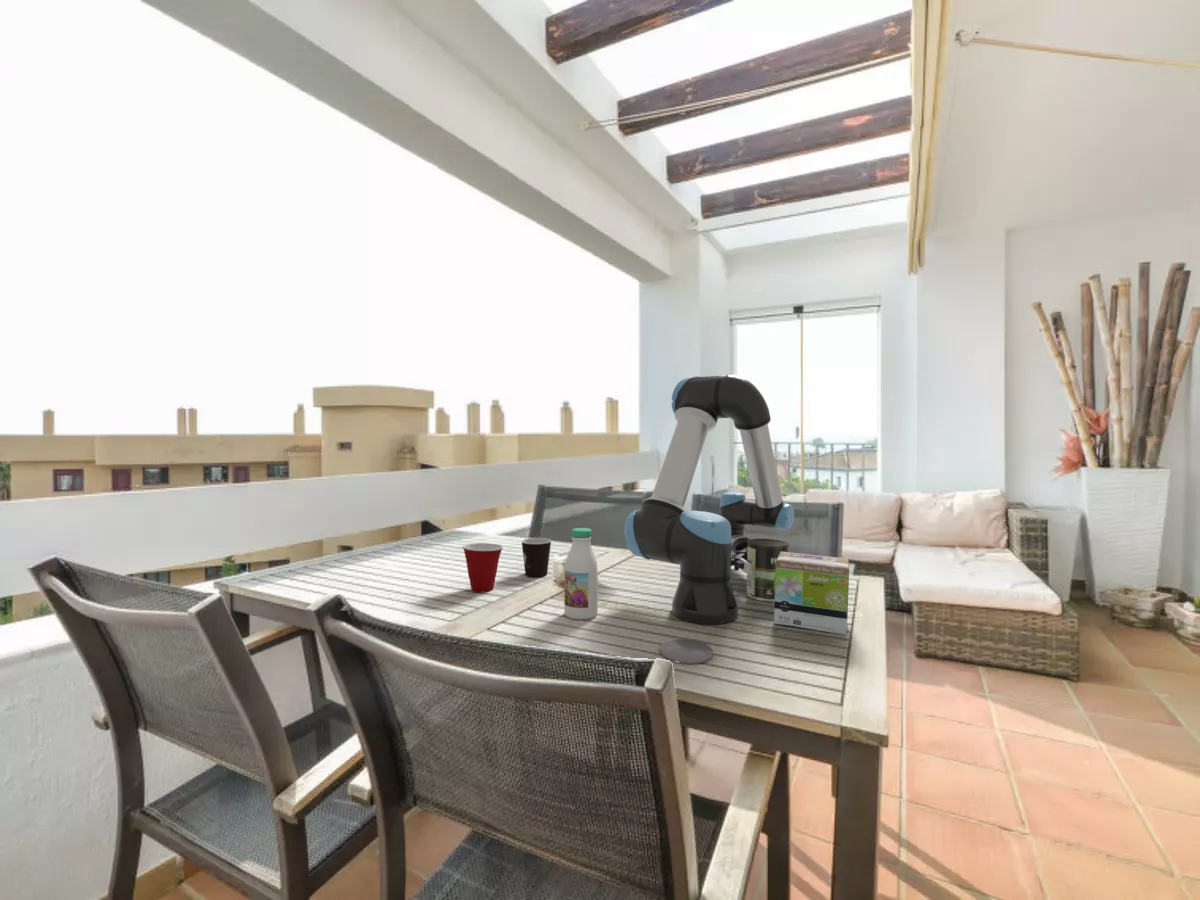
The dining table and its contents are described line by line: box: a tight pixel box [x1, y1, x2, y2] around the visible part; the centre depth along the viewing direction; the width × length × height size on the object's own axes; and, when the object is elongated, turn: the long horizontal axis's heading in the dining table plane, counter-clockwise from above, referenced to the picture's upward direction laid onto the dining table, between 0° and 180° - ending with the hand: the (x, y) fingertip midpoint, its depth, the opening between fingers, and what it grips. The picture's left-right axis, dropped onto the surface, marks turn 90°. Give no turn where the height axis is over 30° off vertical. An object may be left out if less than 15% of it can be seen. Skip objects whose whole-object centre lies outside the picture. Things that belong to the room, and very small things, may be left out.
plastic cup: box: [462, 542, 504, 593], centre depth 145 cm, size 11×11×12 cm
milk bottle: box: [563, 527, 599, 621], centre depth 126 cm, size 8×8×20 cm
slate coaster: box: [659, 638, 714, 665], centre depth 105 cm, size 10×10×1 cm
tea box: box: [773, 551, 850, 636], centre depth 121 cm, size 15×10×15 cm, turn 66°
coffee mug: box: [521, 537, 552, 579], centre depth 162 cm, size 12×9×10 cm
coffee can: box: [746, 538, 790, 603], centre depth 141 cm, size 10×10×14 cm
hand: (773, 569), depth 137 cm, fingers open, 11 cm apart
